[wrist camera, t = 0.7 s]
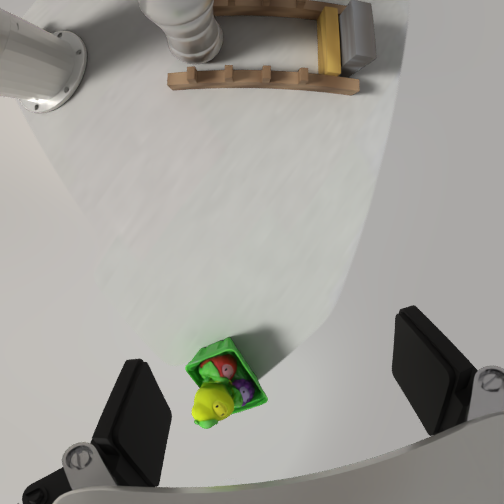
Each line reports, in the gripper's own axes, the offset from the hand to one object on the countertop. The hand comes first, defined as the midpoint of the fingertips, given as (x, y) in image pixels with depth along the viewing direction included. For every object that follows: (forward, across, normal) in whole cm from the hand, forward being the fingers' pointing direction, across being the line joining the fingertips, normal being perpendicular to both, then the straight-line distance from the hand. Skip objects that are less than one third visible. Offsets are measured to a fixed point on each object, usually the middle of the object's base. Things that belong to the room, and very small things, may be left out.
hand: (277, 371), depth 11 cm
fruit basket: (+29, +8, +22) cm, 37 cm away
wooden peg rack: (+29, -6, -21) cm, 36 cm away
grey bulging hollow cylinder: (+30, +2, -22) cm, 37 cm away
